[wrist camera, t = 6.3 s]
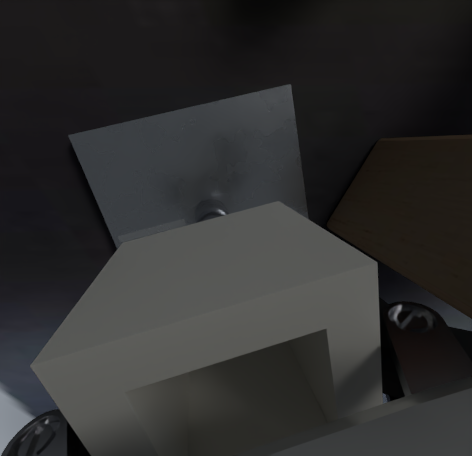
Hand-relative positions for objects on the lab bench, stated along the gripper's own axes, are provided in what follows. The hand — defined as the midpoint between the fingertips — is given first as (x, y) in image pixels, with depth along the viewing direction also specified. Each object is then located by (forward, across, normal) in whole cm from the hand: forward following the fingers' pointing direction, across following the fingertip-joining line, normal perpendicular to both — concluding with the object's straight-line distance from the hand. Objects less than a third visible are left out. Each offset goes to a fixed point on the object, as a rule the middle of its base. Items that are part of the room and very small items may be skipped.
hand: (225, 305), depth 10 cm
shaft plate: (+15, 0, 0) cm, 15 cm away
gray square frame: (+1, 0, 0) cm, 1 cm away
